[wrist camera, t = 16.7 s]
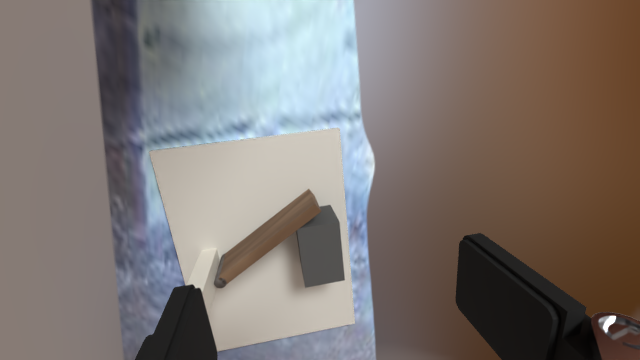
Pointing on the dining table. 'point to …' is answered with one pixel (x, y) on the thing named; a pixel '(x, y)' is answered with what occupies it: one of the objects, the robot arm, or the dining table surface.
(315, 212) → the wooden slat
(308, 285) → the block
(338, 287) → the cream base with post
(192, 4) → the dining table surface
